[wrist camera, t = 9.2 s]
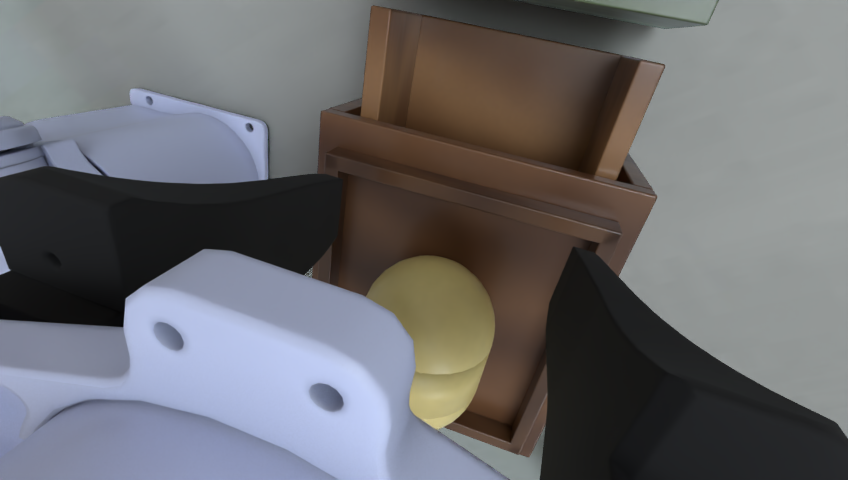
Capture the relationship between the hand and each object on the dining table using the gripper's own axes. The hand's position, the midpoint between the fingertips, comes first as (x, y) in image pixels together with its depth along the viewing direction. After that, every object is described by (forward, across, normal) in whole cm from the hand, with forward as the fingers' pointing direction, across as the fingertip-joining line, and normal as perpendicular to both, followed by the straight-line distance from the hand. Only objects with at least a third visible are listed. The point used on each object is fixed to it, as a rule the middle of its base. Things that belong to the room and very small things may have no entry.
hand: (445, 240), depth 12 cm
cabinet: (+10, 0, +5) cm, 12 cm away
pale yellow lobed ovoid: (+3, 0, +5) cm, 6 cm away
